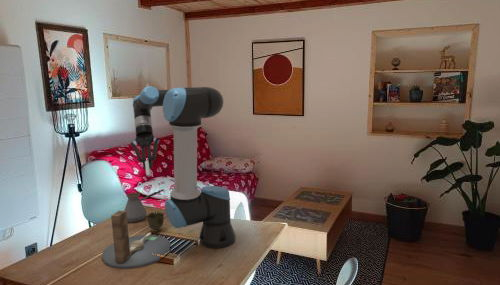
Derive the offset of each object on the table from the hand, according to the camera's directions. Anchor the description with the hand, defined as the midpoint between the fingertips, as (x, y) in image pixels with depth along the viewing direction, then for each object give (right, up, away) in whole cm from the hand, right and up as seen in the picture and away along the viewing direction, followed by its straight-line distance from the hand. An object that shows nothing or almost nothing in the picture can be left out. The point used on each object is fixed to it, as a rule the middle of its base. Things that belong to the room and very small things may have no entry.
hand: (148, 175), depth 157 cm
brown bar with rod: (0, -28, -16) cm, 32 cm away
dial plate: (0, -29, -15) cm, 33 cm away
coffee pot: (-7, -24, +20) cm, 32 cm away
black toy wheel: (+2, -26, +5) cm, 27 cm away
